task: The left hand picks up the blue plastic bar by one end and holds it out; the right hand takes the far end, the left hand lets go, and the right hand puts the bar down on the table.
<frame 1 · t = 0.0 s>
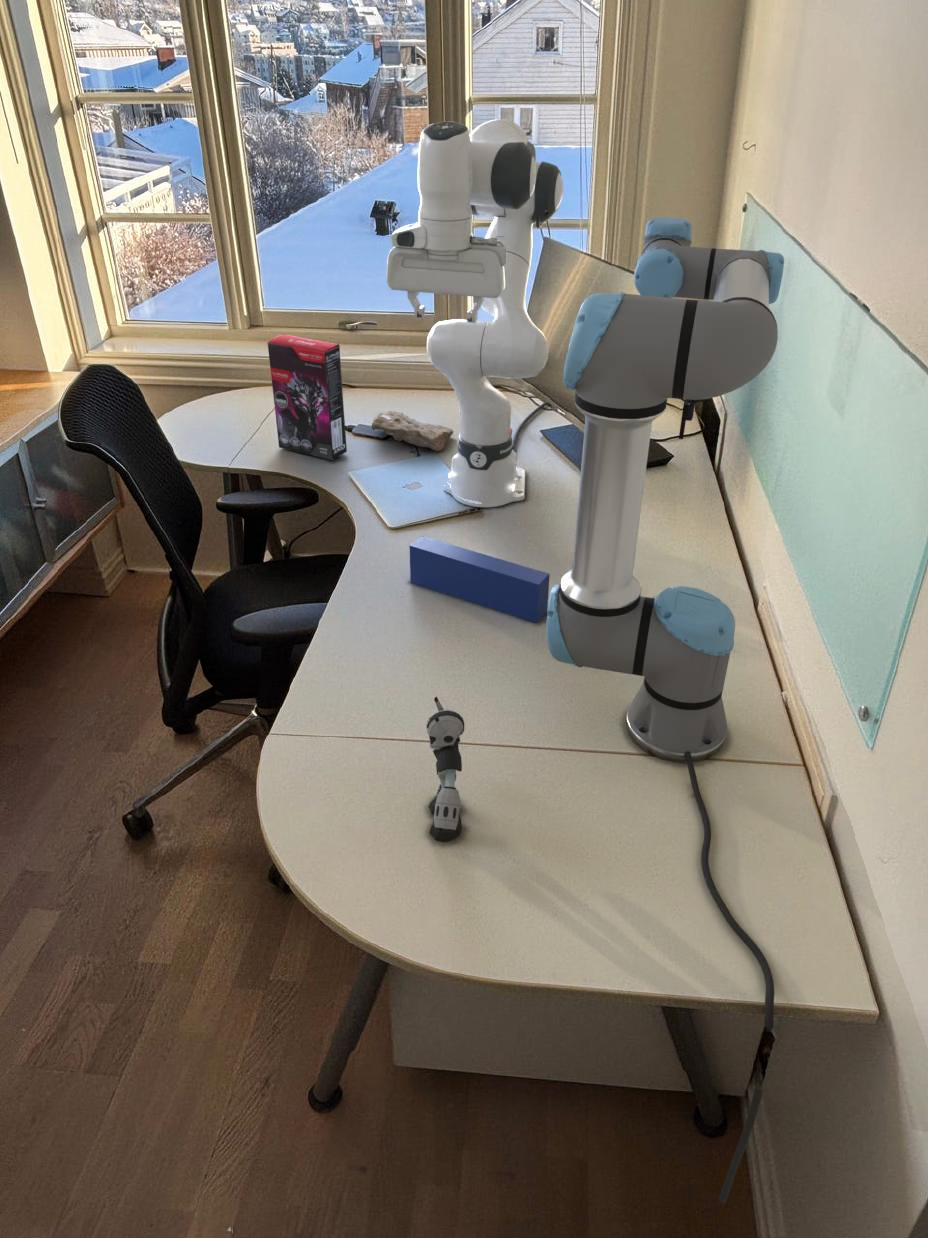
left hand: (445, 319, 160), 48 cm above the table, tool pointing down, fingers open, 8 cm apart
right hand: (643, 432, 170), 28 cm above the table, tool pointing down, fingers open, 13 cm apart
robot: (445, 820, 127), on the table
stone: (408, 440, 236), on the table
graphics card box: (312, 451, 231), on the table
bar: (477, 597, 175), on the table
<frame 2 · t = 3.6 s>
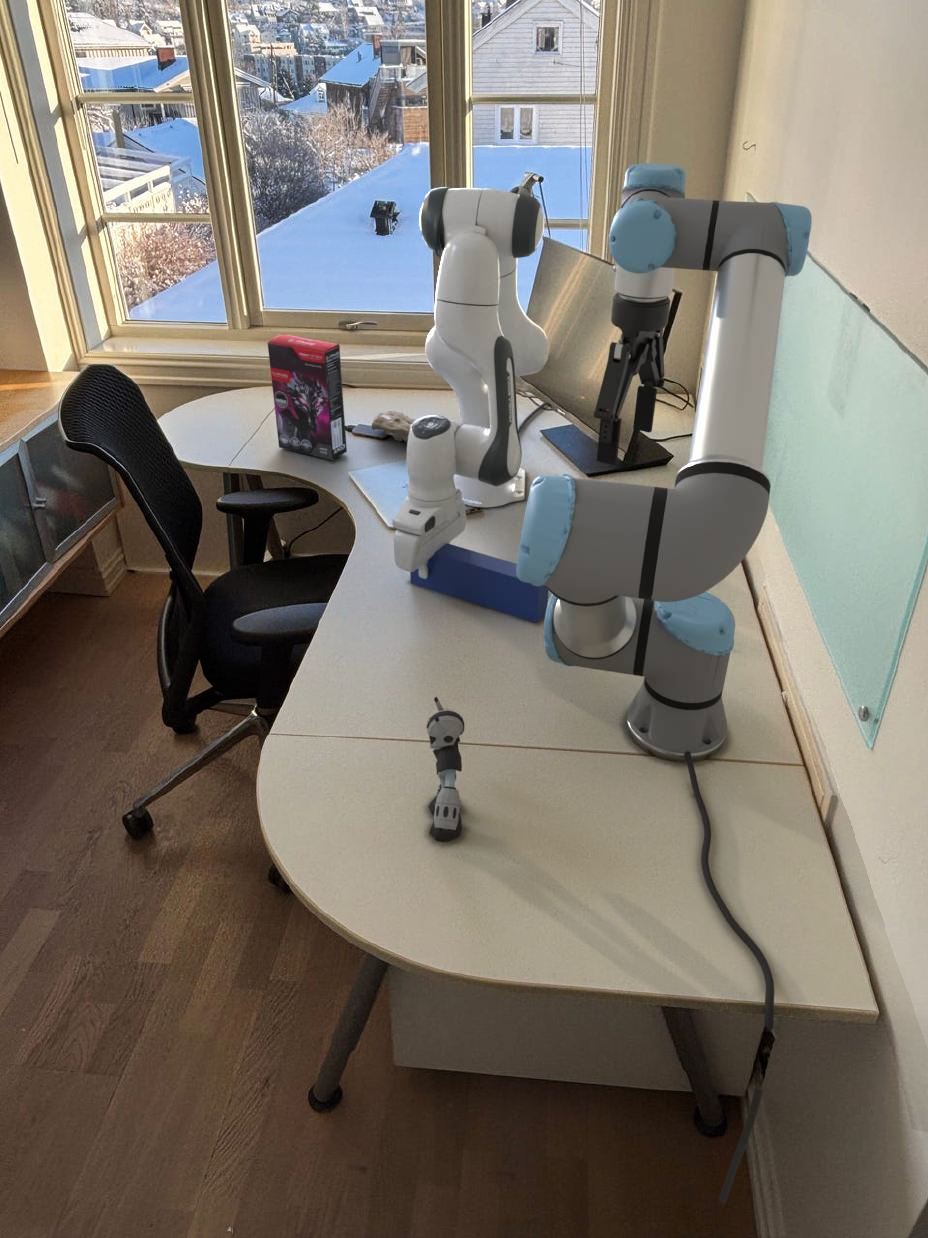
left hand: (432, 569, 177), 3 cm above the table, tool pointing down, fingers closed on bar, 4 cm apart
right hand: (625, 445, 133), 41 cm above the table, tool pointing down, fingers open, 13 cm apart
bar: (477, 596, 175), on the table, touching left hand
everything else where it was.
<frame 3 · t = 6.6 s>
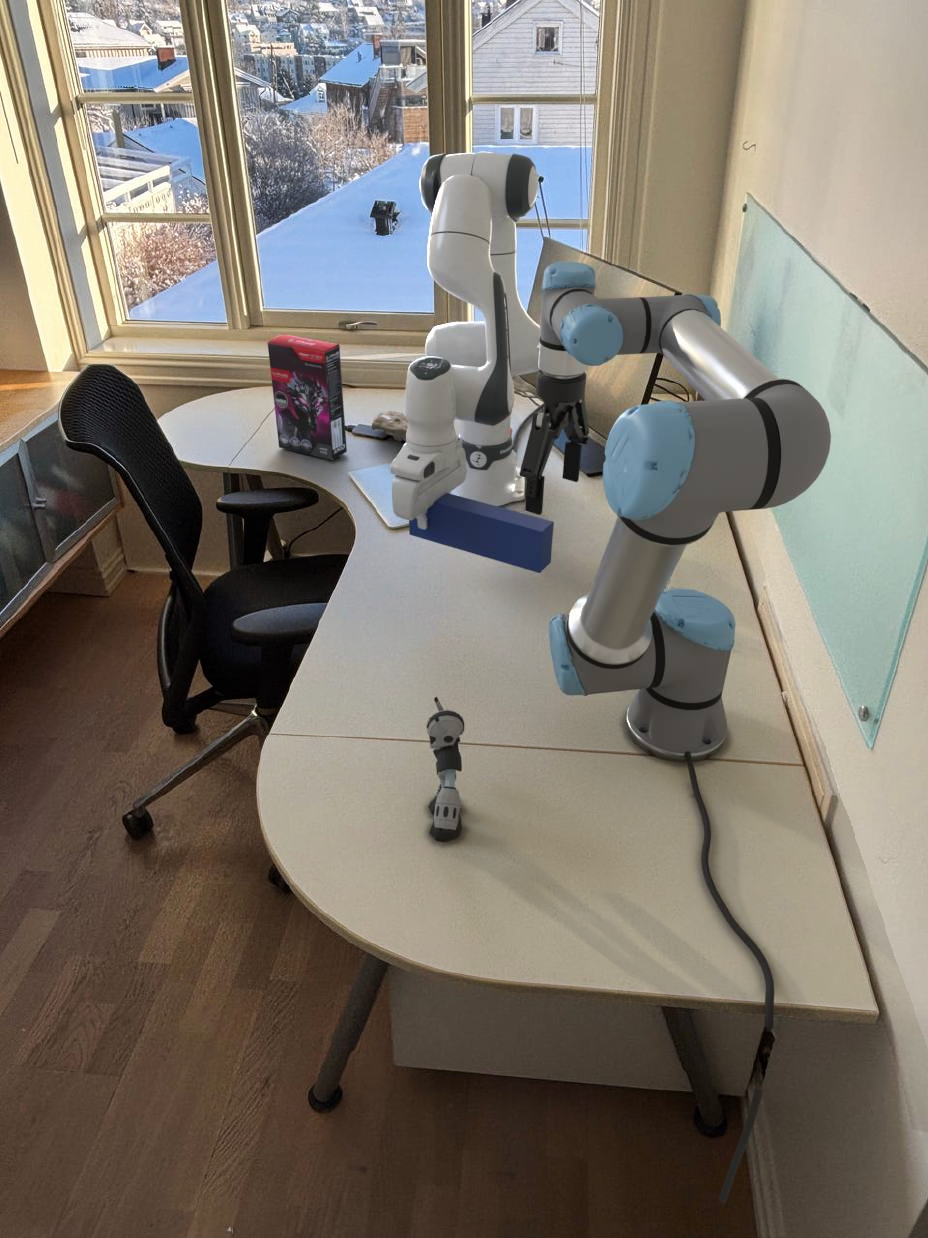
left hand: (432, 521, 171), 13 cm above the table, tool pointing down, fingers closed on bar, 4 cm apart
right hand: (552, 495, 152), 26 cm above the table, tool pointing down, fingers open, 13 cm apart
bar: (478, 548, 169), point 11 cm above the table, touching left hand
everything else where it was.
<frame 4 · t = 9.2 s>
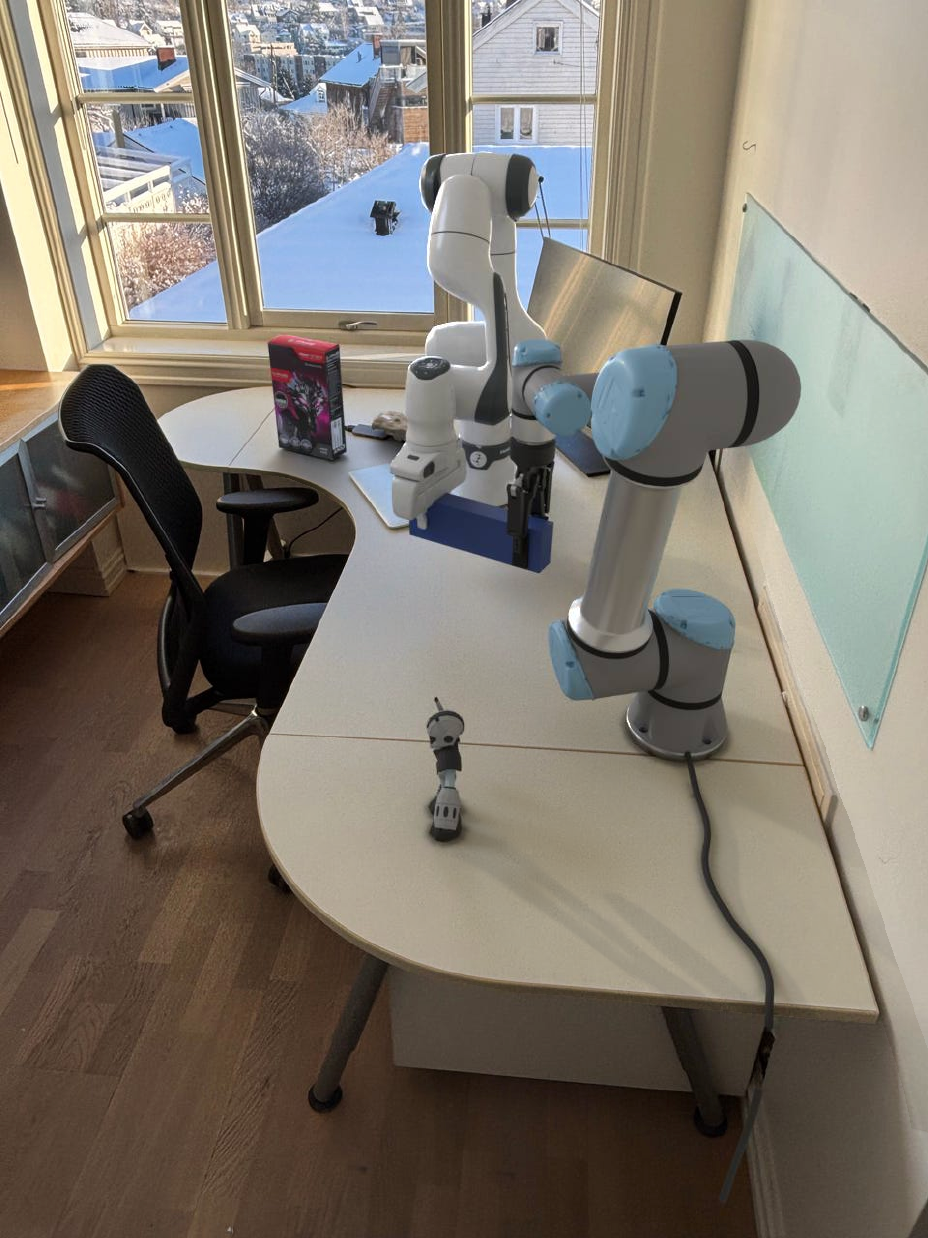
left hand: (432, 521, 171), 13 cm above the table, tool pointing down, fingers closed on bar, 4 cm apart
right hand: (526, 559, 164), 11 cm above the table, tool pointing down, fingers closed on bar, 4 cm apart
bar: (478, 548, 169), point 11 cm above the table, touching right hand, left hand
everything else where it was.
when the left hand's fingers open (13 cm above the table, at t = 9.9 s): bar stays where it is, held by the right hand.
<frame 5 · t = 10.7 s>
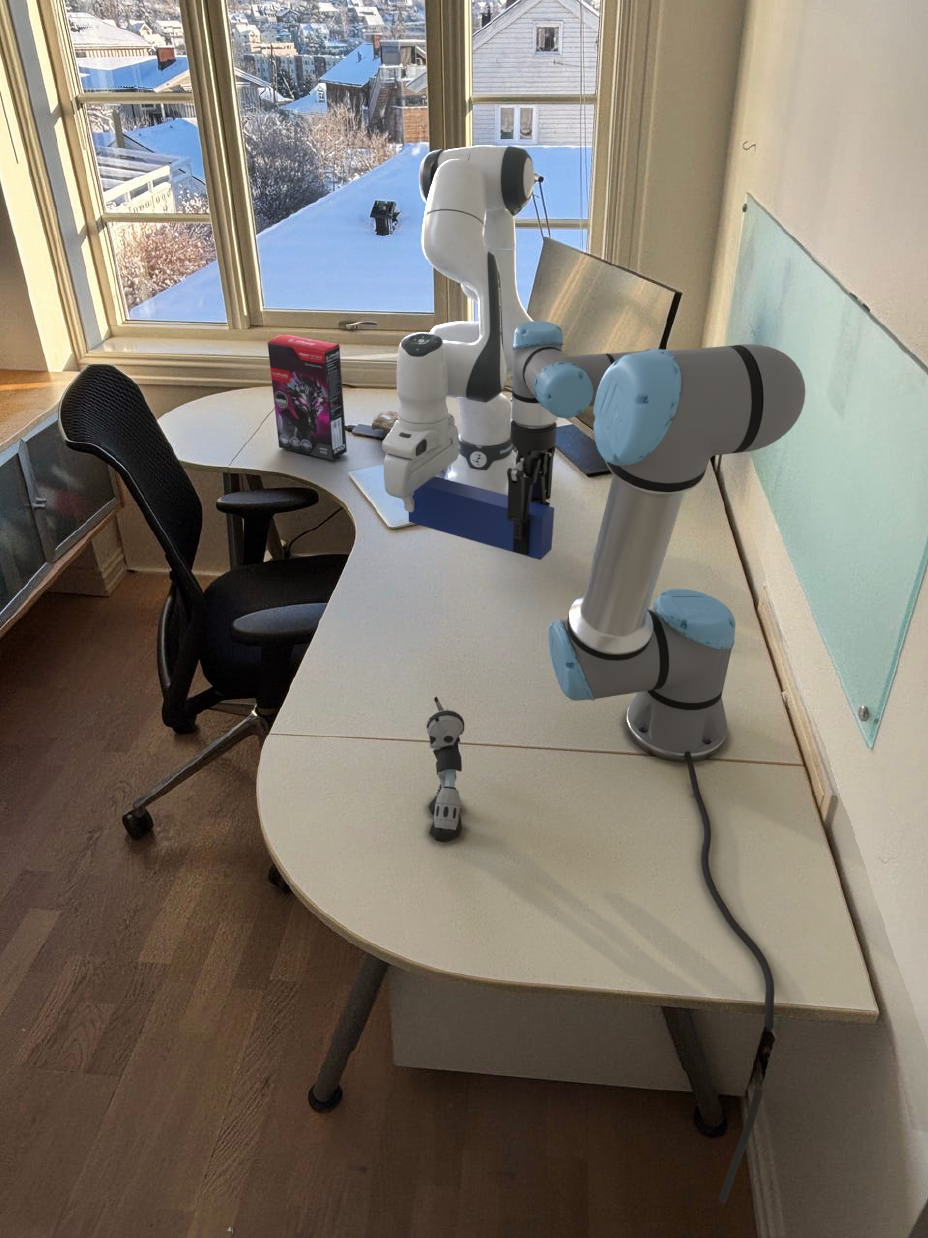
left hand: (424, 499, 170), 17 cm above the table, tool pointing down, fingers open, 8 cm apart
right hand: (527, 546, 163), 14 cm above the table, tool pointing down, fingers closed on bar, 4 cm apart
bar: (478, 535, 167), point 13 cm above the table, touching right hand
everything else where it was.
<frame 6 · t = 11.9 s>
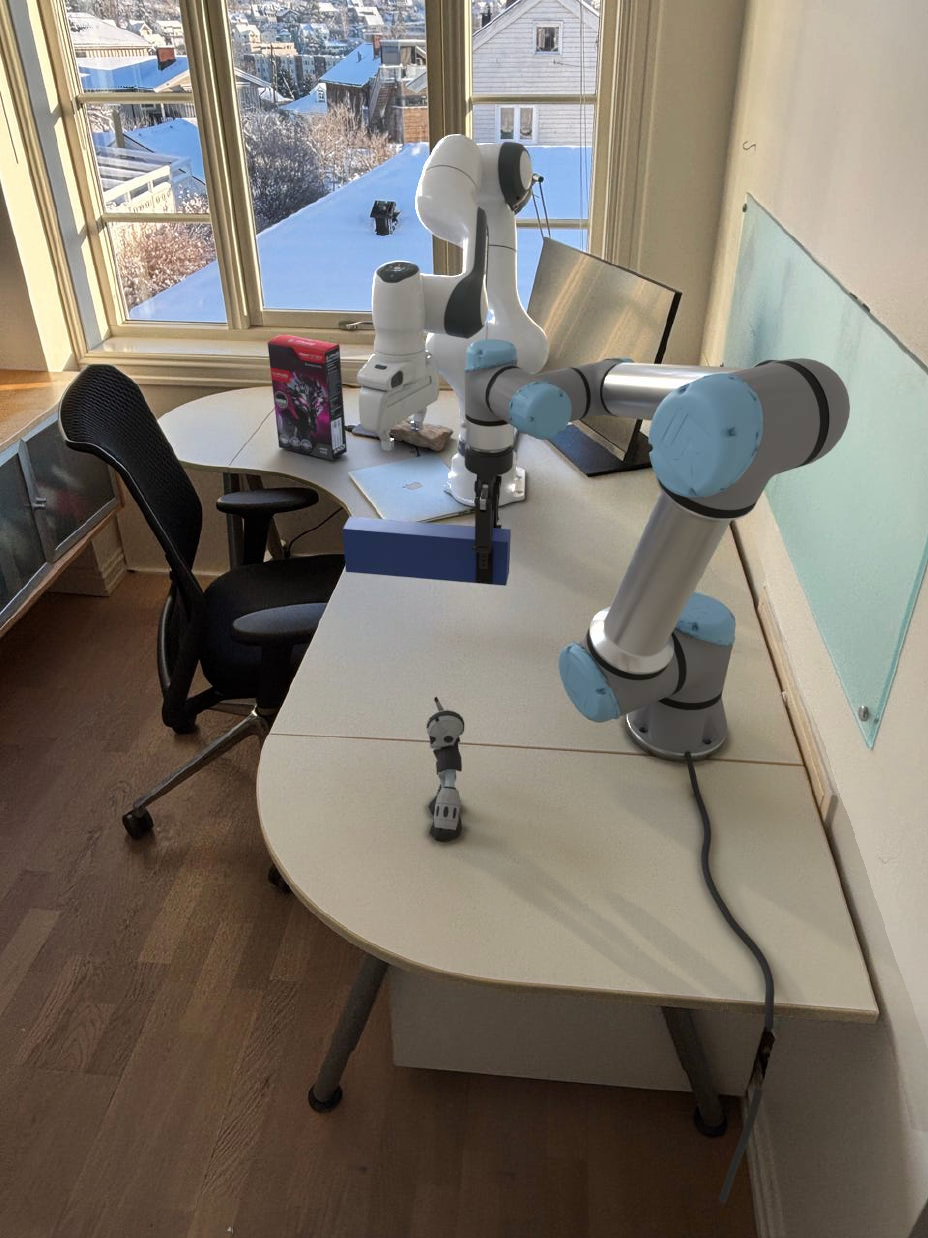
left hand: (402, 439, 166), 28 cm above the table, tool pointing down, fingers open, 8 cm apart
right hand: (486, 573, 155), 14 cm above the table, tool pointing down, fingers closed on bar, 4 cm apart
bar: (427, 572, 156), point 13 cm above the table, touching right hand
everything else where it was.
when the right hand's fingers open (2 cm above the table, at t = 14.8 s): bar drops 2 cm, on the table.
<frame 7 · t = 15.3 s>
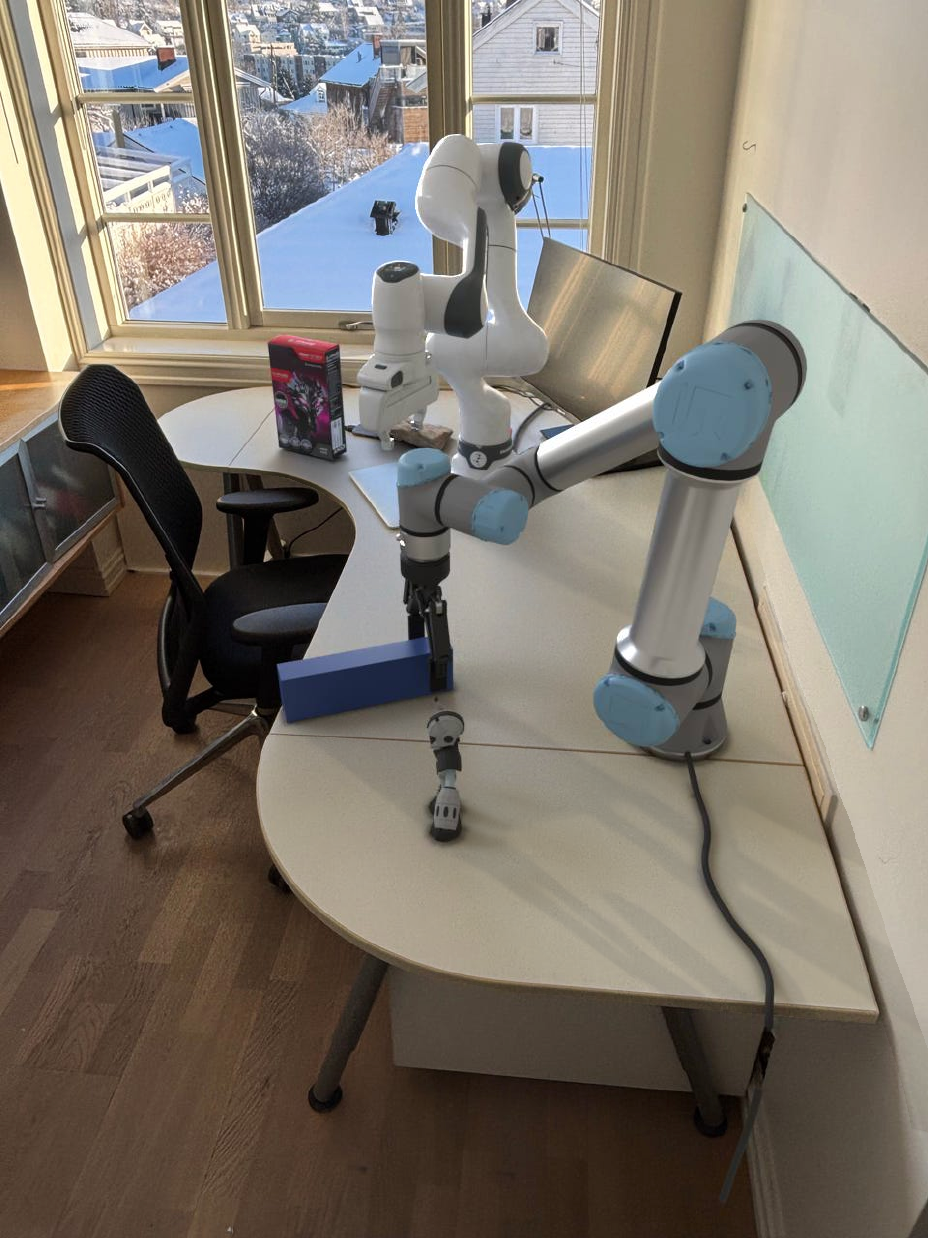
left hand: (402, 439, 166), 28 cm above the table, tool pointing down, fingers open, 8 cm apart
right hand: (427, 668, 150), 4 cm above the table, tool pointing down, fingers open, 11 cm apart
bar: (368, 697, 149), on the table
everything else where it was.
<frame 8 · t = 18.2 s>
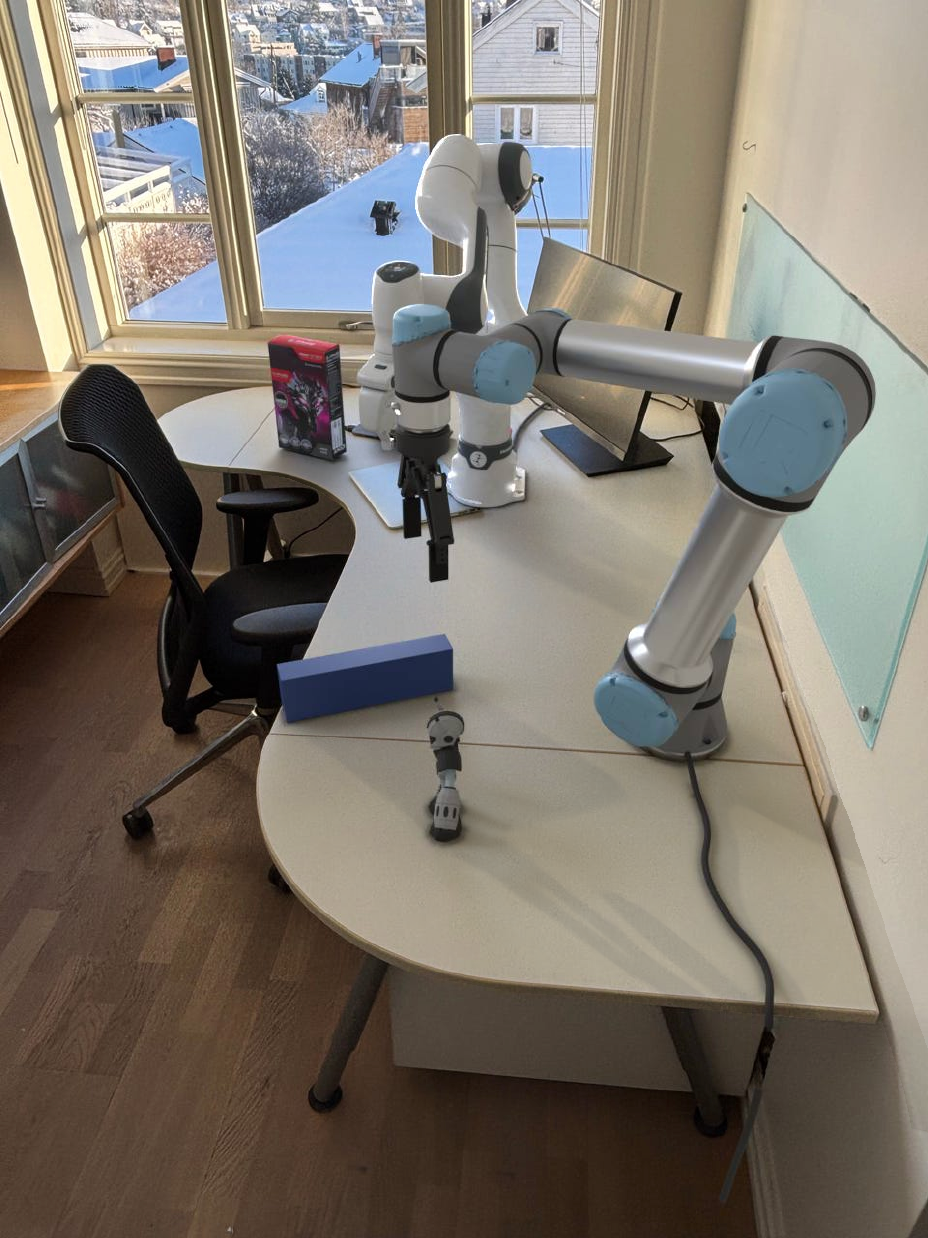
left hand: (402, 439, 166), 28 cm above the table, tool pointing down, fingers open, 8 cm apart
right hand: (425, 557, 138), 24 cm above the table, tool pointing down, fingers open, 13 cm apart
nothing on the table moved.
at the end: bar inside the target area (10.0 cm from its centre), on the table; the left hand is holding nothing; the right hand is holding nothing; bar at rest at the end (0.0 cm/s) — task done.
